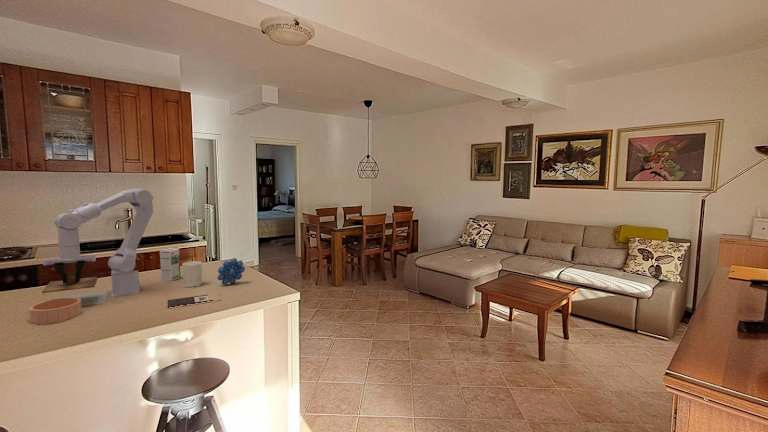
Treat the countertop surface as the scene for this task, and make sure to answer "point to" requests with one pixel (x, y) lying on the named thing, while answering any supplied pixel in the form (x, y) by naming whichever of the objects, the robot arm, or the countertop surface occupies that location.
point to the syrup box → (170, 264)
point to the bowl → (55, 310)
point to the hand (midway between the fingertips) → (71, 282)
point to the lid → (70, 283)
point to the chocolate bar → (187, 300)
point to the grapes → (231, 271)
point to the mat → (89, 298)
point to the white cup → (192, 273)
